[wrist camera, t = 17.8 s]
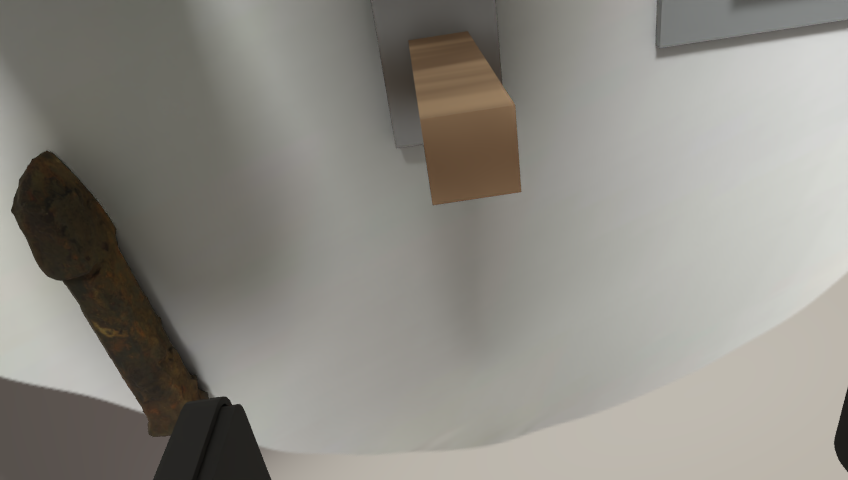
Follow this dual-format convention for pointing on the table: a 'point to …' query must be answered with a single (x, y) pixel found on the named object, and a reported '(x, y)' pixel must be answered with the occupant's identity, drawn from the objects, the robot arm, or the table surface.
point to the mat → (738, 18)
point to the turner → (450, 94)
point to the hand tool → (102, 287)
